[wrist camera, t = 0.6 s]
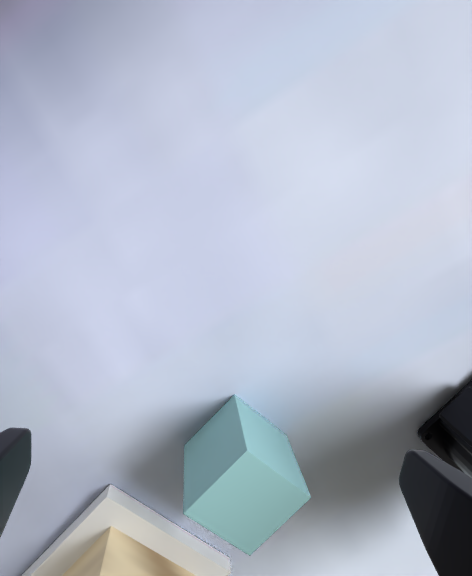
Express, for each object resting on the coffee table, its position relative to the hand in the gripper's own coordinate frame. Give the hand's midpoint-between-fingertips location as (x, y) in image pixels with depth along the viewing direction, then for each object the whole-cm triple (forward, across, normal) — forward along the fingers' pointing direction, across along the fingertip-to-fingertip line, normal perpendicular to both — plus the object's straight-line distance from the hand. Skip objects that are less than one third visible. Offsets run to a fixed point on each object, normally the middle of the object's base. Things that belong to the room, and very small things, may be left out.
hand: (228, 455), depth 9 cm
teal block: (+12, -3, +8) cm, 15 cm away
